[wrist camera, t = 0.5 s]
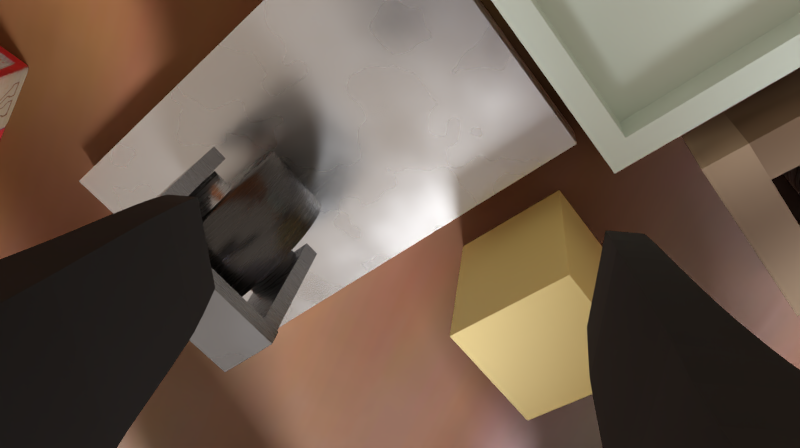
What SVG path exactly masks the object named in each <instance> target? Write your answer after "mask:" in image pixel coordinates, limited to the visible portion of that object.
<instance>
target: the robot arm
mask: <svg viewBox="0 0 800 448" xmlns="http://www.w3.org/2000/svg"><path fill="white" fill-rule="evenodd" d="M214 290H215V284H214V279H213V274H212V269H211V263H210V258H209V253H208V247H207V242H206V237H205V232H204V226H203V221H202V216H201V211H200V205H199V200H198V197H192V196H180V195H168V194H167V195H163V196H160V197H156V198H153V199H150V200H147V201H144V202H142V203H139V204H136V205H134V206H131V207H129V208H126V209H124V210H121V211H119V212H116V213H114V214H112V215H109V216H107V217H104V218H102V219H100V220H97V221H95V222H93V223H90V224H88V225H85V226H83V227H81V228H78V229H76V230H74V231H71V232H69V233H66V234H64V235H62V236H59V237H57V238H54V239H52V240H49V241H47V242H44V243H41V244H39V245H36V246H34V247H31V248H29V249H26V250H23V251H21V252H18V253H16V254H13V255H11V256H8V257H5V258H3V259H0V448H117V447H118V445H119V443H120V442H121V440H122V439H123V437H124V435H125V434H126V432H127V431H128V429H129V428H130V426H131V425H132V423H133V422H134V420H135V419H136V417H137V416H138V415H139V413H140V412H141V410H142V409H143V407H144V406H145V404H146V403H147V401H148V400H149V399H150V397H151V396H152V394H153V393H154V391H155V390H156V388H157V387H158V385H159V384H160V383H161V381H162V380H163V378H164V377H165V375H166V374H167V372H168V371H169V370H170V368H171V367H172V365H173V364H174V362H175V361H176V359H177V358H178V356H179V355H180V353H181V352H182V350H183V349H184V347H185V346H186V344H187V343H188V341H189V340H190V338H191V337H192V335H193V333H194V332H195V330H196V328H197V326H198V324H199V322H200V320H201V318H202V316H203V314H204V312H205V310H206V308H207V305H208V303H209V301H210V299H211V297H212V294H213V292H214ZM587 341H588V360H589V374H590V383H591V388H592V394H593V399H594V404H595V410H596V415H597V420H598V425H599V430H600V435H601V440H602V445H603V448H800V370H799V369H798V368H796V367H795V366H793V365H792V364H791V363H789V362H788V361H787V360H785V359H784V358H783V357H781V356H780V355H779V354H777V353H776V352H775V351H773V350H772V349H771V348H770V347H768V346H767V345H766V344H765V343H763V342H762V341H761V340H760V339H759V338H757V337H756V336H755V335H754V334H753V333H751V332H750V331H749V330H748V329H746V328H745V327H744V326H743V325H742V324H740V323H739V322H738V321H737V320H736V319H734V318H733V317H732V316H731V315H730V314H729V313H728V312H726V311H725V310H724V309H723V308H722V307H721V306H720V305H719V304H717V303H716V302H715V301H714V300H713V299H712V298H711V297H710V296H709V295H708V294H707V293H706V292H704V291H703V290H702V289H701V288H700V287H699V286H698V285H697V284H696V283H695V282H694V281H693V280H692V279H691V278H690V277H689V276H688V275H687V274H686V273H685V272H684V271H683V270H682V269H680V268H679V267H678V266H677V265H676V264H675V263H674V262H673V261H672V260H671V259H670V258H669V257H668V256H667V255H666V254H665V253H664V252H663V251H662V250H661V249H660V248H659V247H658V246H657V245H656V244H655V243H654V242H653V241H652V240H651V239H650V238H649V237H647V236H646V235H645V234H641V233H629V232H617V231H606V232H605V237H604V242H603V247H602V252H601V257H600V262H599V268H598V273H597V278H596V283H595V288H594V293H593V298H592V304H591V309H590V314H589V319H588V324H587Z"/></svg>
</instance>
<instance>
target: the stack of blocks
mask: <svg viewBox="0 0 800 448" xmlns="http://www.w3.org/2000/svg"><path fill="white" fill-rule="evenodd" d="M27 73H28V65H26V64H25V63H24V62H22V61H21V60H20V59H18V58H17V57H15V56H14V55H12V54H11V53H10V52H8V51H7V50H5V49H4V48H2V47H1V46H0V140H1V137H2V134H3V132H4V129H5V126H6V124H7V123H8V121H9V118H10V116H11V113H12V111H13V108H14V106H15V103H16V101H17V98H18V96H19V93H20V91H21V88H22V86H23V83H24V80H25V78H26V75H27Z"/></svg>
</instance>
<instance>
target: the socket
mask: <svg viewBox="0 0 800 448" xmlns="http://www.w3.org/2000/svg"><path fill="white" fill-rule="evenodd" d="M682 137H683V139H684V141H685V143H686V144H687V146H688V148H689V149H690V151H691V153H692V154H693V156H694V158H695V160H696V161H697V163H698V165H699V166H700V168H701V170H702V171H703V173H704V174H705V176H706V177H707V179H708V180H709V182H710V183H711V185H712V187H713V188H714V190H715V191H716V193H717V194H718V196H719V197H720V199H721V200H722V202H723V203H724V205H725V206H726V208H727V209H728V211H729V213H730V214H731V216H732V217H733V219H734V220H735V222H736V223H737V225H738V226H739V228H740V229H741V231H742V232H743V234H744V236H745V237H746V239H747V240H748V242H749V243H750V245H751V246H752V248H753V249H754V251H755V252H756V254H757V255H758V257H759V258H760V260H761V262H762V263H763V265H764V266H765V268H766V269H767V271H768V272H769V274H770V275H771V277H772V278H773V280H774V281H775V283H776V284H777V286H778V288H779V289H780V291H781V292H782V294H783V295H784V297H785V298H786V300H787V301H788V303H789V304H790V306H791V307H792V309H793V310H794V312H795V314H796V315H797V316H799V315H800V222H798V223H797V221H796V220H795V218H794V216H793V215H792V213H791V211H790V210H789V208H788V206H787V205H786V203H785V202H784V200H783V198H782V197H781V195H780V193H779V192H778V190H777V188H776V187H775V185H774V184H773V182H772V179H774V178H776V177H778V176H779V175H781V174H783V173H785V172H787V171H789V170H791V169H793V168H795V167H797V166H799V165H800V69H798V70H796V71H794V72H793V73H791V74H789V75H787V76H786V77H784V78H782V79H780V80H779V81H777V82H775V83H773V84H772V85H770V86H768V87H766V88H765V89H763V90H761V91H760V92H758V93H756V94H754V95H753V96H751V97H749V98H747V99H746V100H744V101H742V102H740V103H739V104H737V105H735V106H733V107H732V108H730V109H728V110H726V111H725V112H723V113H721V114H719V115H718V116H716V117H714V118H712V119H711V120H709V121H707V122H705V123H704V124H702V125H700V126H698V127H697V128H695V129H693V130H691V131H690V132H688V133H686V134H685V135H683V136H682Z"/></svg>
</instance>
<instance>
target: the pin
mask: <svg viewBox="0 0 800 448" xmlns="http://www.w3.org/2000/svg"><path fill="white" fill-rule="evenodd" d="M783 174H784V176H785V178H786V179H787V181H788V182H789V183H790V184H791V185H792V187H793V188H794V189H795V190H796V191H797V193H798V194H799V195H800V165H799V166H797V167H795V168H793V169H791V170H789V171H787V172H785V173H783Z"/></svg>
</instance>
